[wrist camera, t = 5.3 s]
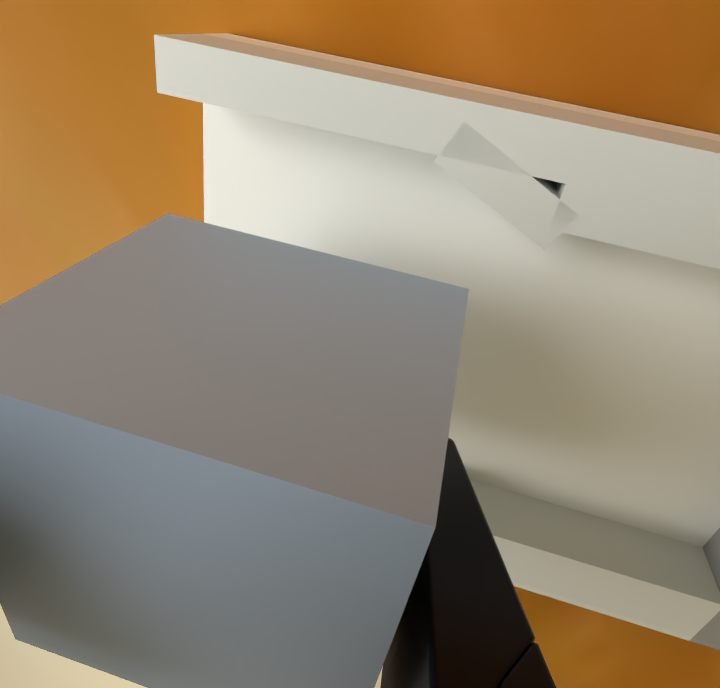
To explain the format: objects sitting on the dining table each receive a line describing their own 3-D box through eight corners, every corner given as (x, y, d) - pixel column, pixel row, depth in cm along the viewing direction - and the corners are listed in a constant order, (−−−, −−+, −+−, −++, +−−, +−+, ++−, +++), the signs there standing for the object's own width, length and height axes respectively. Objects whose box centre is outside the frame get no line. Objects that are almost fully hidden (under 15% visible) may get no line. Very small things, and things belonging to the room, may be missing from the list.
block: (468, 288, 8) (435, 526, 4) (402, 502, 11) (346, 760, 7) (167, 212, 8) (-102, 362, 5) (179, 434, 11) (16, 638, 7)
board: (1036, 200, 8) (1214, 257, 6) (707, 563, 14) (743, 658, 12) (227, 33, 10) (154, 34, 8) (222, 419, 15) (178, 480, 13)
